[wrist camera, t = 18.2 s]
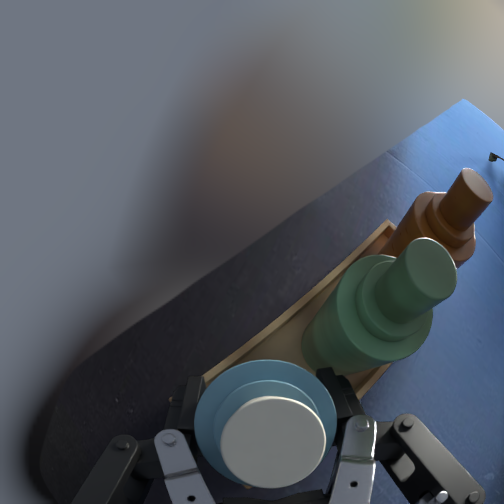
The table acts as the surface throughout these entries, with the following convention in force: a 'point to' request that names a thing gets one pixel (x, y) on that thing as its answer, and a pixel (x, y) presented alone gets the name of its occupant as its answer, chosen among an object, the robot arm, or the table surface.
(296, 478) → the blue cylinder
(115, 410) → the table surface
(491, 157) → the decorative flower
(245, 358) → the bottle tray
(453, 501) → the robot arm
